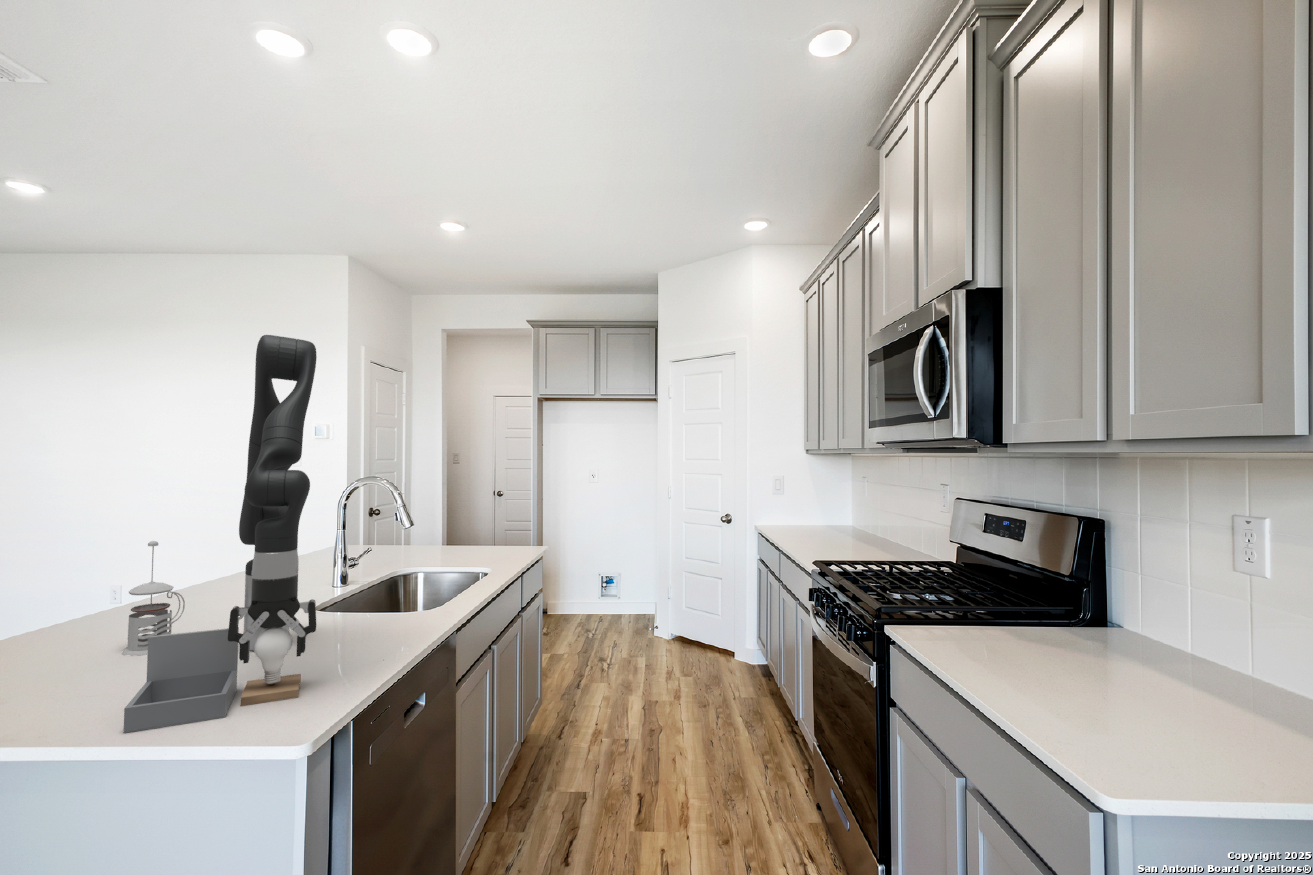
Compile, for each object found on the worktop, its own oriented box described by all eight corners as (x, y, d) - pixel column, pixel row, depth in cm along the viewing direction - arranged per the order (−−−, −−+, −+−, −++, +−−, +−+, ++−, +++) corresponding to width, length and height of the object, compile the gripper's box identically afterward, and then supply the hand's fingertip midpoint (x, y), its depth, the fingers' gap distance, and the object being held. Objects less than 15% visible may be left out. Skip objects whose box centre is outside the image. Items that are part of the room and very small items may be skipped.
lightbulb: (264, 678, 118) (265, 622, 119) (298, 677, 119) (299, 621, 119) (244, 691, 112) (246, 632, 112) (280, 690, 112) (282, 631, 113)
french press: (111, 652, 137) (115, 542, 138) (168, 638, 148) (172, 536, 149) (137, 658, 133) (141, 544, 134) (194, 643, 144) (197, 538, 145)
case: (146, 702, 110) (149, 636, 111) (236, 689, 116) (238, 627, 117) (123, 733, 98) (126, 658, 98) (225, 717, 104) (227, 647, 105)
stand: (247, 688, 117) (247, 680, 117) (300, 681, 121) (301, 673, 121) (240, 705, 109) (240, 697, 109) (298, 697, 113) (298, 689, 113)
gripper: (318, 567, 122) (316, 647, 122) (233, 573, 116) (230, 658, 115) (317, 574, 116) (314, 659, 115) (227, 580, 109) (224, 670, 109)
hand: (272, 658), depth 115 cm, fingers open, 8 cm apart
